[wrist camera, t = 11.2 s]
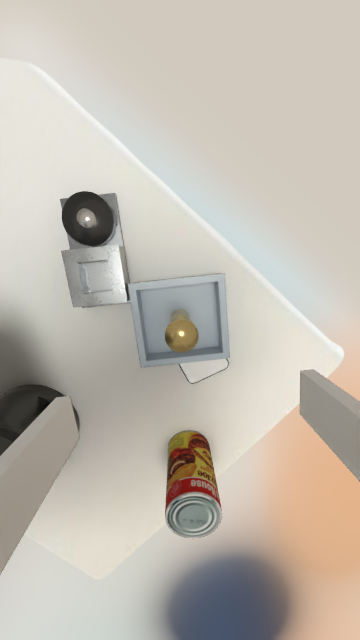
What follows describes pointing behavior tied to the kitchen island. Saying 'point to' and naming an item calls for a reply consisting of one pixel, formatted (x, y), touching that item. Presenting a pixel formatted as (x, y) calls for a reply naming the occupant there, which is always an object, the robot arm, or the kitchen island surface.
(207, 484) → the canned food
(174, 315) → the lock pin
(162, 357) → the tray
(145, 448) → the kitchen island surface
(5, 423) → the robot arm
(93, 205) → the tensioner
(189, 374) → the smartphone
